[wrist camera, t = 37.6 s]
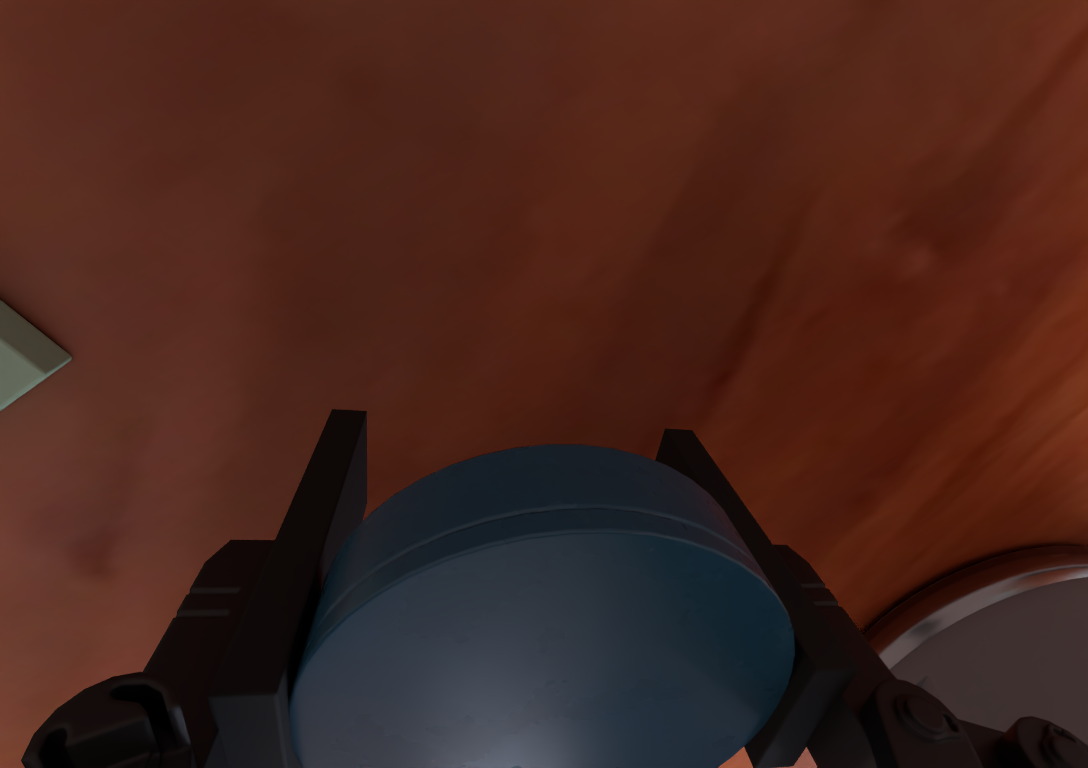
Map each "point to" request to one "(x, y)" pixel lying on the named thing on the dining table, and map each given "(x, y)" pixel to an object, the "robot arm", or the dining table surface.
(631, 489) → the jar lid
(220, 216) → the dining table surface
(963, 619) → the robot arm
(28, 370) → the sticky note pad
